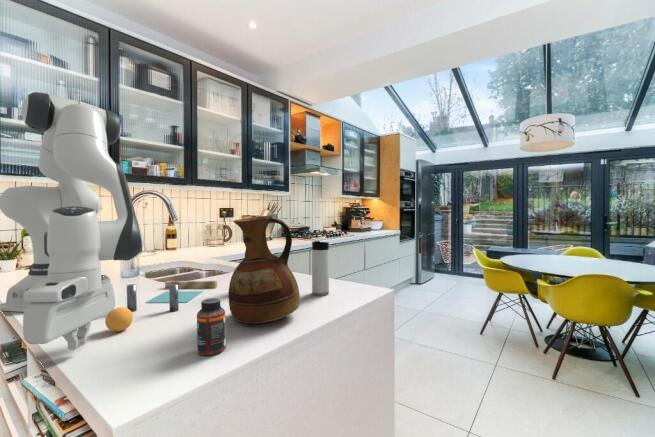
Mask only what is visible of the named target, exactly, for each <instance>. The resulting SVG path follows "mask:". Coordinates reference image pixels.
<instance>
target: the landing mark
mask: <svg viewBox="0 0 655 437" xmlns="http://www.w3.org/2000/svg"><path fill="white" fill-rule="evenodd" d="M202 293H203V291H201V290H200V291H198V290H195V291H193V290H192V291H185V290H183V291H179V290H178V303H179V304H182V303H183V304H187V303H189V302H190V301H192V300H193V299H195V298H196V297H198V296H199V295H200V294H202ZM194 297H195V298H194ZM144 303H145V304H170V300H169V291H164V292H162V293H161V294H158V295H157V296H155V297H153V298H151V299H149V300H146V301H145V302H144Z"/></svg>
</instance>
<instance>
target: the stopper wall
mask: <svg viewBox="0 0 655 437" xmlns="http://www.w3.org/2000/svg"><path fill="white" fill-rule="evenodd" d="M171 284H178V289H217V288H218V280H167V281H165V282H164V289H169V285H171Z"/></svg>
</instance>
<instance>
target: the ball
mask: <svg viewBox="0 0 655 437" xmlns="http://www.w3.org/2000/svg"><path fill="white" fill-rule="evenodd" d="M105 316H106V317H105V319H104V320H105V322H104V323H105V326H106V327H107V329H108V330H109V331H112V332H115V333H117V332H118V333H119V332H122V331H124V330H127V329H128V328H129V327H130V326H131V324H132V323H133V321H134V314H133V312H131V311H130V310H129V309H127V307H124V306H123V307H122V306H119V307H115V308H114V310H113V311H112V312H110V313H108V314H106V315H105Z"/></svg>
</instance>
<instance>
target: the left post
mask: <svg viewBox="0 0 655 437" xmlns="http://www.w3.org/2000/svg"><path fill="white" fill-rule="evenodd" d="M137 299H138V298H137V284H134V283H133V284H127V285H126V308H127V309H129V310H130V311H131V312H132V313H133V312H136V311H137V310H138V309H137V308H138V306H137Z"/></svg>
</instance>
